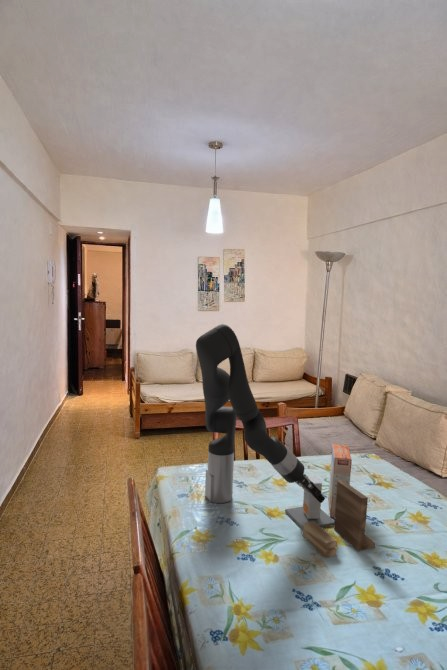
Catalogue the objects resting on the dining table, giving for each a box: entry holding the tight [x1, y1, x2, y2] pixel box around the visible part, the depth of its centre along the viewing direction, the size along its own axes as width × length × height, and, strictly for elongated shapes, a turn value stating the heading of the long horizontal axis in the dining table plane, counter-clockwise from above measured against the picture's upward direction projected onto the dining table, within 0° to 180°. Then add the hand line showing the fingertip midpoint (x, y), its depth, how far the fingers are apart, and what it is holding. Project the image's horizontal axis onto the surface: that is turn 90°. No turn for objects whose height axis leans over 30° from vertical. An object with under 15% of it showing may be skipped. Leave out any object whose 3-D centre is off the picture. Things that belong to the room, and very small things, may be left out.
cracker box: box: [327, 443, 353, 518], centre depth 148 cm, size 14×6×21 cm, turn 168°
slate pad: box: [284, 506, 335, 531], centre depth 142 cm, size 12×12×1 cm
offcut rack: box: [301, 480, 376, 559], centre depth 128 cm, size 18×12×16 cm
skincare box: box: [302, 475, 323, 519], centre depth 141 cm, size 6×4×12 cm
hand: (316, 495), depth 141 cm, fingers closed on skincare box, 6 cm apart
